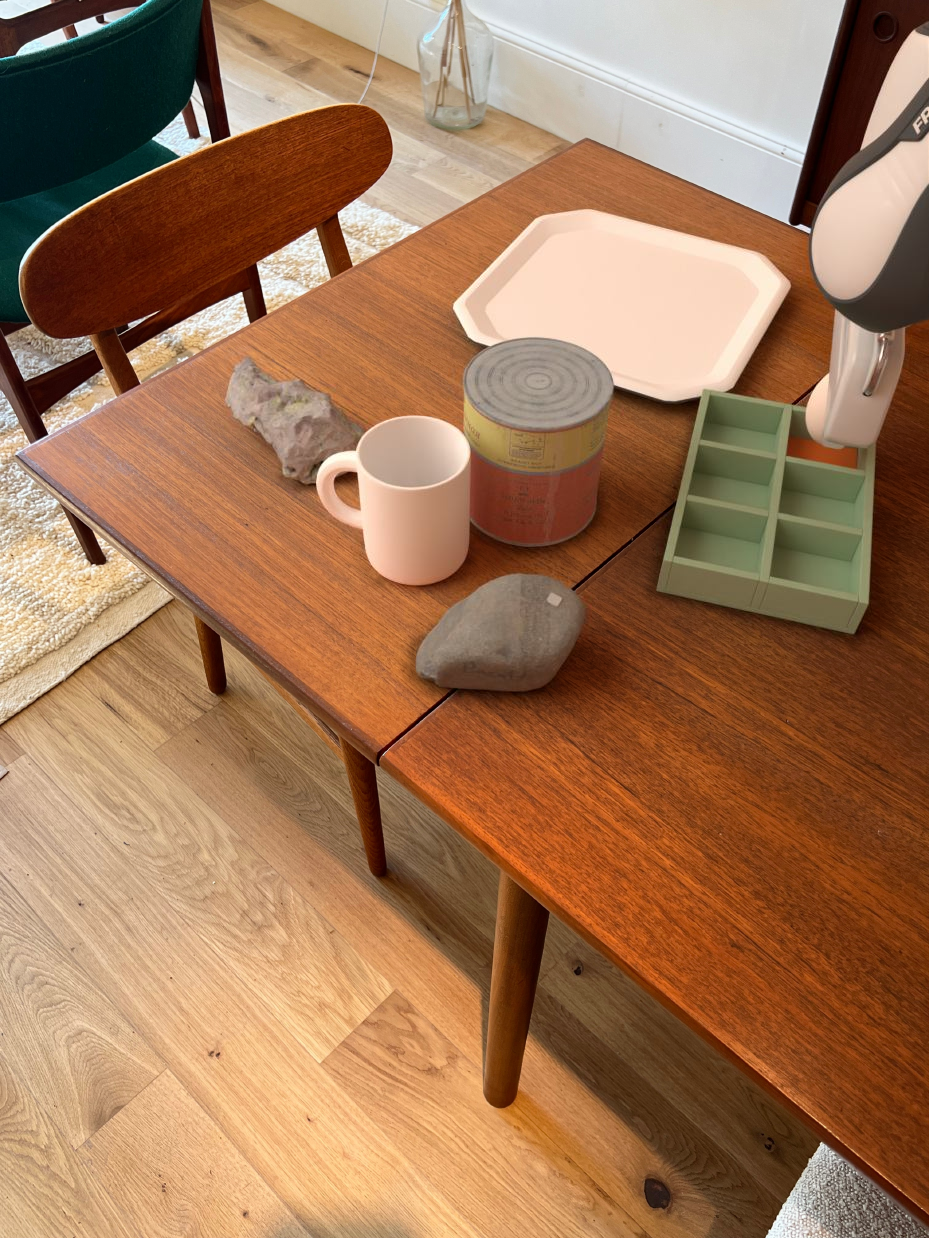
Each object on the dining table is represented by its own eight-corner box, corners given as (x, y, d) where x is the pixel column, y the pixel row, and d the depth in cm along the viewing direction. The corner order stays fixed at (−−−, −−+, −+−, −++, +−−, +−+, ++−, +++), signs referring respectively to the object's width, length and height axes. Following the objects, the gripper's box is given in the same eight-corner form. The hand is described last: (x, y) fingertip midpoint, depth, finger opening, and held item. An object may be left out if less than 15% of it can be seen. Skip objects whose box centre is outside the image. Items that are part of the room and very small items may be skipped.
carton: (864, 451, 88) (877, 419, 85) (854, 634, 74) (869, 603, 72) (695, 419, 91) (703, 388, 88) (655, 591, 77) (663, 559, 74)
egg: (816, 465, 82) (843, 391, 76) (786, 431, 85) (809, 357, 79) (864, 453, 83) (894, 379, 77) (833, 420, 86) (860, 346, 80)
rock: (199, 428, 89) (184, 365, 84) (260, 391, 93) (248, 329, 88) (321, 507, 83) (312, 443, 78) (381, 464, 86) (376, 401, 81)
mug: (306, 568, 78) (289, 468, 70) (341, 499, 83) (330, 398, 75) (453, 599, 76) (453, 499, 68) (480, 526, 81) (483, 425, 73)
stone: (437, 597, 76) (500, 526, 68) (534, 653, 78) (606, 590, 70) (400, 688, 70) (464, 623, 63) (506, 747, 72) (580, 689, 65)
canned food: (526, 438, 89) (534, 320, 80) (623, 500, 83) (644, 382, 74) (434, 497, 84) (431, 379, 74) (531, 568, 78) (542, 449, 69)
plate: (799, 281, 106) (804, 262, 104) (711, 434, 89) (716, 414, 88) (552, 216, 115) (553, 197, 113) (430, 344, 98) (429, 325, 96)
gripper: (938, 354, 64) (870, 510, 75) (934, 206, 77) (876, 358, 88) (838, 337, 65) (784, 494, 76) (850, 194, 78) (803, 345, 89)
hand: (834, 420), depth 82 cm, fingers closed on egg, 4 cm apart
